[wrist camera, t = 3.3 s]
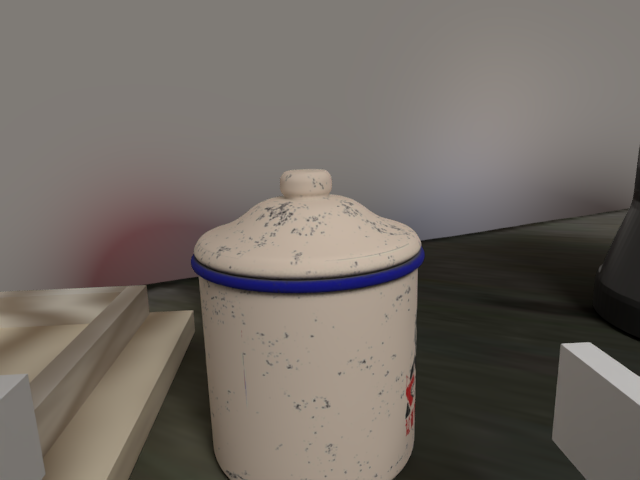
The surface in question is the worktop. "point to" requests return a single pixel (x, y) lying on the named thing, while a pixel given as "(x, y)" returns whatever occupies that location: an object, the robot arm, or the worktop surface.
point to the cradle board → (92, 372)
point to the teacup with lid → (310, 336)
